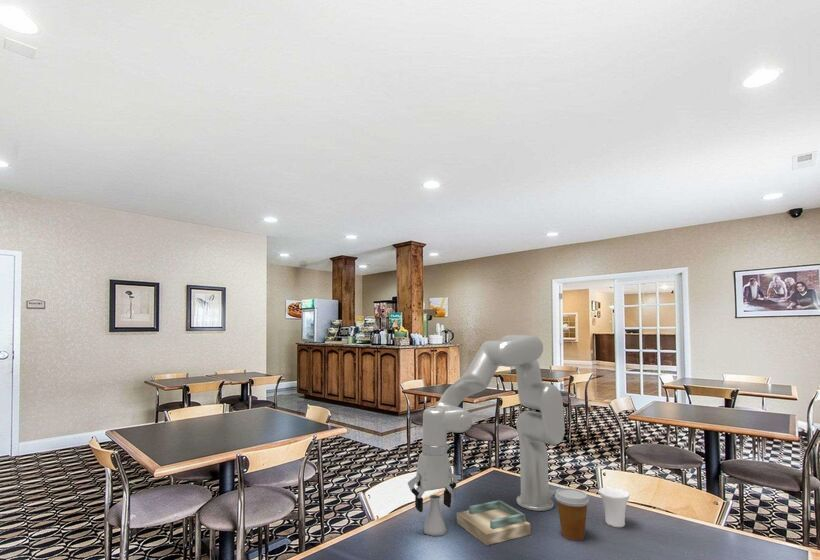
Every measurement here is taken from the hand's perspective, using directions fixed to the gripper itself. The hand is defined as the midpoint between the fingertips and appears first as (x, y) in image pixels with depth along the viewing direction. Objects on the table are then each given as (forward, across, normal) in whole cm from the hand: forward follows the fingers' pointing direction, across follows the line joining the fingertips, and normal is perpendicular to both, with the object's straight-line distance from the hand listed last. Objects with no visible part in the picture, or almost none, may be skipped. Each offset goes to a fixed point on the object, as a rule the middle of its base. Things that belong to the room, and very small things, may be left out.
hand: (433, 508), depth 130 cm
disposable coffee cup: (+6, -37, +20) cm, 42 cm away
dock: (+6, -18, +6) cm, 20 cm away
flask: (+7, -1, 0) cm, 7 cm away
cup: (+6, -55, +20) cm, 58 cm away
